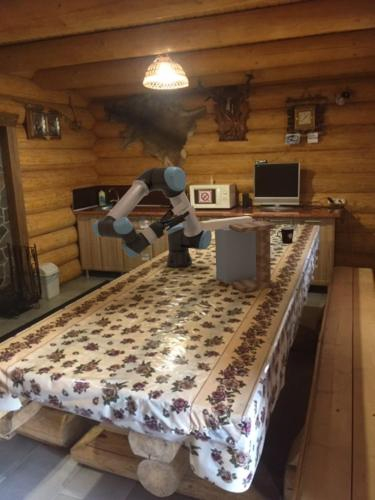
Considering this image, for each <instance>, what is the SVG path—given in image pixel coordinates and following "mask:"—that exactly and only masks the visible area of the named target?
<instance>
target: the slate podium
mask: <svg viewBox="0 0 375 500" xmlns="http://www.w3.org/2000/svg"><path fill="white" fill-rule="evenodd" d="M214 242H215V243H214V246H215V247H214V250H215V273H216V279H218V280H219V281H221V282H222V283H224V284H226V285H227V284H231V281H236V280H242V279H248V278H254V277H256V231H252V232H244V233H240V232H237V231H234V230H231V229H229V228H225V229H217V230H214Z"/></svg>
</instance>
